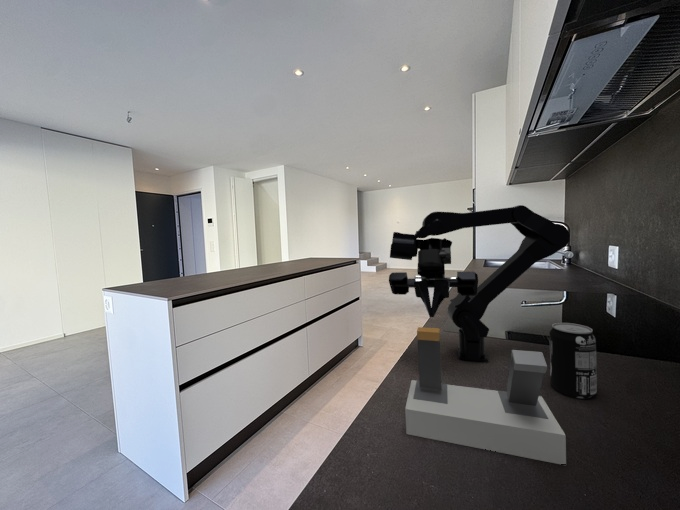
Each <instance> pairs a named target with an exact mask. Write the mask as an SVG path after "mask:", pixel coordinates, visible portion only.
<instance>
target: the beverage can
mask: <svg viewBox="0 0 680 510" xmlns="http://www.w3.org/2000/svg"><path fill="white" fill-rule="evenodd" d="M551 327H552V328H551V330H550V331H549V335H548V336H549V365H550V366H549V369H550V370H549V372H550V373H549V375H550V376H549V377H550V384H551V385H552V386H553V387H554V388H555V390H557V391H558V392H559V393H562V394H564V395H565V396H569V397H573V398H575V399H576V398H577V399H591V398H592V397H593V396H595V395H596V394H597V393H598V392H597V391H598V390H597V389H598V382H597V378H598V375H597V374H598V373H597V369H598V368H597V338H596V336H595V335H594V333H593V332H594V331H593V328H591V327H589V326H587V325H582V324H578V323H573V322H572V323H571V322H556V323H552V325H551Z"/></svg>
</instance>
